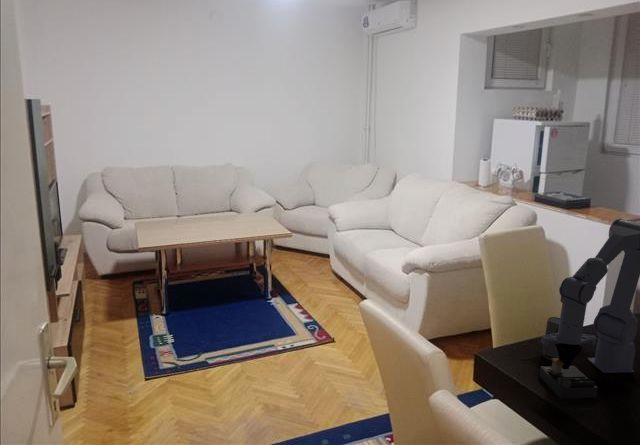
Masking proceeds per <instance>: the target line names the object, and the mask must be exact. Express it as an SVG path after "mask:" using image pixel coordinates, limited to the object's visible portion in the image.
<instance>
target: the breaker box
mask: <svg viewBox="0 0 640 445" xmlns="http://www.w3.org/2000/svg"><path fill="white" fill-rule="evenodd" d="M549 369H552V365H551V366H550V365H549V366H548V365H546V366H544V365H542V366H541V365H540V368H539V374H538V377H539V378H540V379H541V380H542V381H543V382H544V383H545V384H546V385H547V387H549V388H550V389H551V391H552V392H553V393H554V394H555V395H556V396H557V397H558V398H559V399H593V398H595V399H596V398H597V396H598V391H599V390H598V388H599V387H598V386H597V385H596V382H595V380H592V379H591V378H588V377H587V376H586V375H585V374H584V373H583V372H582V371H581V370H579V368H577V367H576V365H570V367H569V369H563V368H562V369H561V372H562V373H563V375H556V376H554V375H553V374H552V373H551V372H550V371H549Z"/></svg>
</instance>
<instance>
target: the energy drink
mask: <svg viewBox="0 0 640 445" xmlns="http://www.w3.org/2000/svg"><path fill="white" fill-rule="evenodd" d="M559 322H560V317H557V316H556V317H555V316H551V317H548V319H547V321H546V325H545V326H546V327H545V334H544V335H549V334H554V333H558V328H559ZM542 347H543V348H542V353H541V354H542V356H543V358H545V359H547V360H549V361H552V358H559V354H558V350H557V348H556V345H555V344H548V345H543V346H542Z"/></svg>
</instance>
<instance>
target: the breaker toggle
mask: <svg viewBox="0 0 640 445" xmlns="http://www.w3.org/2000/svg"><path fill="white" fill-rule="evenodd" d="M551 361H552V364H551V366H552V369H549V371H550V372H551V373H552V374H553V375H554V376H556V375H563V373H562V372H561V369H562V365H564V363H563V362H562V361H561V360H560V359H559V358H552V360H551Z"/></svg>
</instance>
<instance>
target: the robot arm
mask: <svg viewBox="0 0 640 445" xmlns="http://www.w3.org/2000/svg"><path fill="white" fill-rule="evenodd" d="M622 252H623V253H624V255H623V259H622V263H621V265H620V269H619V271H618V272H619V273H618V275H617V279H616V282H615V286H614V289H613V292H612V296H611V300H610V303H609V304H608V305H604V306H602V307H600V308H599V310H598V313H597V314H596V316H595V317H594V320H593V323H592V324H593V329H594V331H595V332H596V336H598V338H597V337H596V336H595V335H593V334H584V333H583V329H584V323H585V318H586V317H585V316H586V311H587V306H588V305H587V304H588V303H590V301H592V299H593V297H594V294H595V292H596V290H597V288H598V287H597V285H598V284H599V283H600V282H601V280H603V278H604V277H605V276H606V275H607V273H608V271H609V269H608V265H610V263H612V262H613V261H614V260H615V259H616V257H618V256H619V255H620V254H621V253H622ZM639 281H640V222H636V221H630V220H626V219H623V218H619V217H618V218H616V219H615V220H614V221H613V222H612V223H611V225H610V227H609V229H608V238H607V240H606V241H605V242H604V244H603V245H602V247H601V248H600V250H598V253H597V254H596V256H594V257H590V258H587V259H586V261H584V263H583V264H582V265H581V266H580V267H579V268H578V270H577V271H576V272H575V273H574V274H573V276H568V277H566V278H564V279H563V281H562V282H561V284H560V286H559V289H558V290H559V295H560V303H561V309H560V317H559V318H560V322H559V328H558V333H554V334H549V335H545V334H544V335H541V336H540V343H542V345H543V346H544V345H548V344H555V345H556V348H557V350H558V354H559V359H560V360H561V361H562V362H563V363H564V365H562V368H563V369H569V367H570V366H572V363H573V361H574V359H575V358H576V357H577V356H578V355H579V353H581V351H582V350H583V349H582V348H583V347H582V346H581V344H591V345H592V346H593V345H596V349H595V354H594V357H588V358H587V361H589V362H590V363H591V364H592V365H593V366H595V367H596V368H597V369H598V370H599V371H600V372H602V373H604V374H611V373H613V374H614V373H617V374H619V373H635V372H634V369H633V366H634V363H635V362H634V361H635V355H636V346H635V343H634V340H635V338H636V336H637V333H638V323H639V319H638V318H637V316H636V315H635V314H634V313H633V311H632V310H631V306H632V303H633V300H634V297H635V294H636V290H637V286H638V282H639Z"/></svg>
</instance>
